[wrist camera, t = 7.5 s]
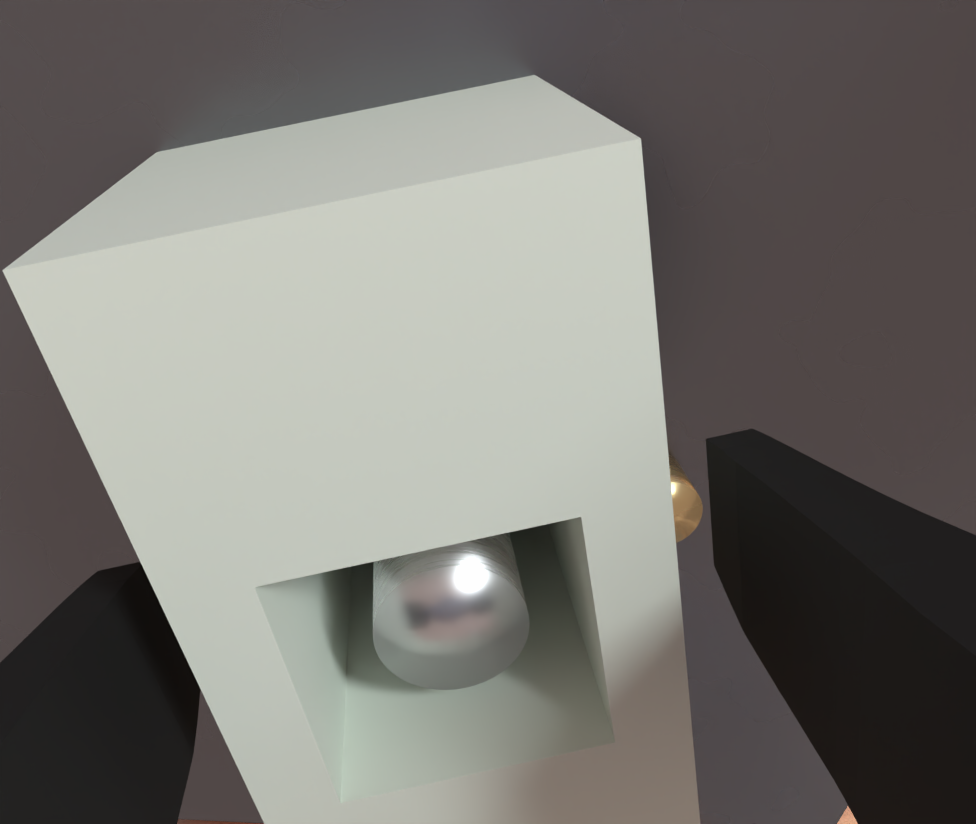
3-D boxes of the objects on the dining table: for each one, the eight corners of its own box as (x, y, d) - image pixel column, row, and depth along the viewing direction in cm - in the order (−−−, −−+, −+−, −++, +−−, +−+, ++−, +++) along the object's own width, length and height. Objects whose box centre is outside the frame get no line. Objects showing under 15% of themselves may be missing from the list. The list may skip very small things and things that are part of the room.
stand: (1273, 10, 12) (1765, 26, 8) (804, 820, 20) (924, 1058, 16) (-522, -573, 8) (-1655, -1269, 4) (-248, 758, 16) (-495, 1067, 11)
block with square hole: (614, 640, 16) (706, 900, 11) (350, 698, 15) (340, 984, 11) (534, 75, 11) (641, 138, 6) (156, 151, 11) (2, 270, 6)
